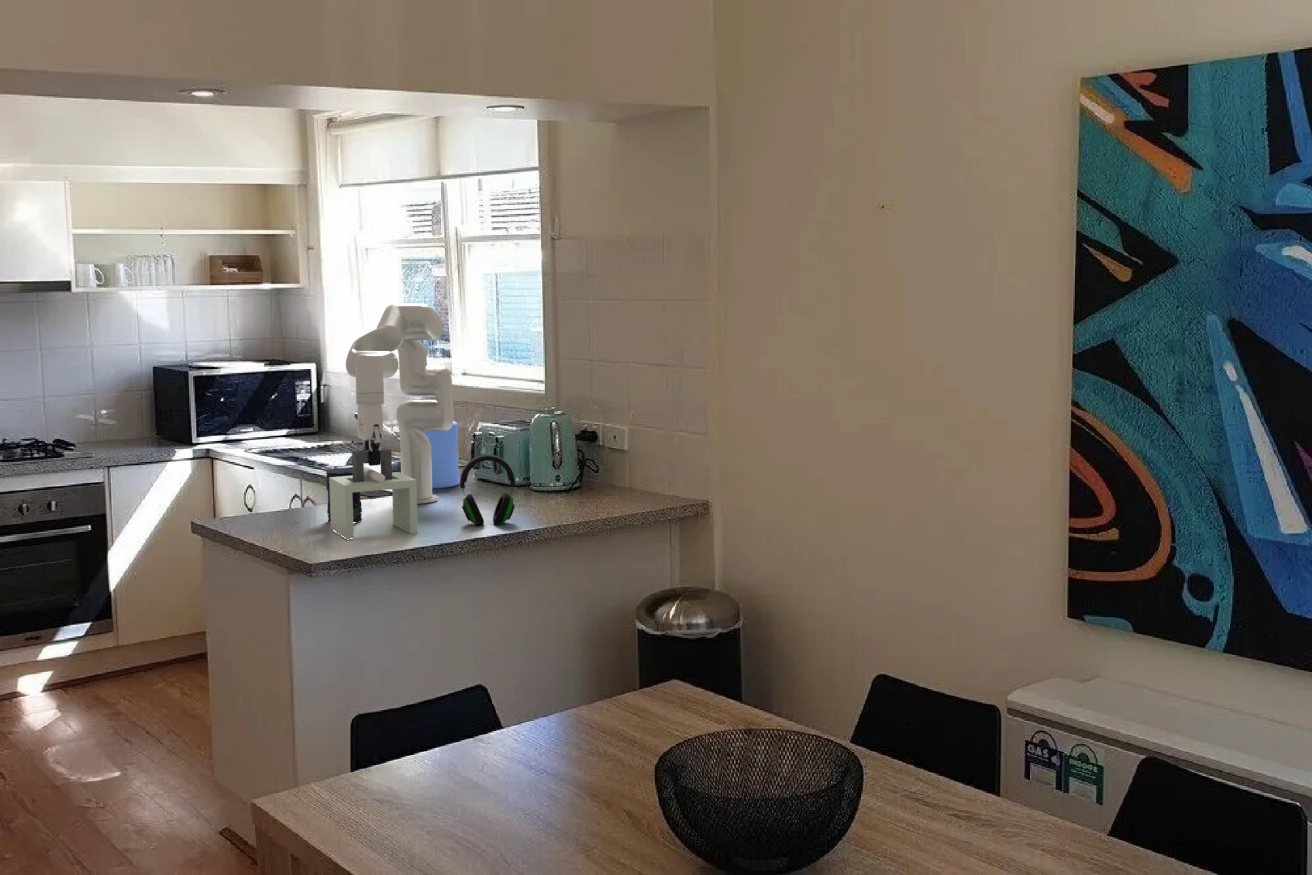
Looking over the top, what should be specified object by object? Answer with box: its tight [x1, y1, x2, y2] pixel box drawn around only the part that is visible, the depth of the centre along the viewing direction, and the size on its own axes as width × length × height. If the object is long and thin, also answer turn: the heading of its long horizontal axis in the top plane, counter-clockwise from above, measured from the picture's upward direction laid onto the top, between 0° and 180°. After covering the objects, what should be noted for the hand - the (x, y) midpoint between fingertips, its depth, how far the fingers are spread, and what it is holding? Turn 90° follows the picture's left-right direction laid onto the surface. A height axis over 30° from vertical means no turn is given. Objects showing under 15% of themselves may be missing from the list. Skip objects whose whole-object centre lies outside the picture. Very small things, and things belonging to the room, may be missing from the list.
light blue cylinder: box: [423, 420, 460, 489], centre depth 467 cm, size 16×16×28 cm
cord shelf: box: [329, 465, 419, 539], centre depth 390 cm, size 16×20×17 cm
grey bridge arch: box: [351, 447, 393, 483], centre depth 389 cm, size 4×10×11 cm, turn 118°
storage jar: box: [325, 467, 363, 523], centre depth 405 cm, size 10×10×15 cm
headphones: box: [459, 453, 516, 526], centre depth 400 cm, size 9×16×20 cm, turn 102°
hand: (372, 463), depth 389 cm, fingers closed on grey bridge arch, 4 cm apart
